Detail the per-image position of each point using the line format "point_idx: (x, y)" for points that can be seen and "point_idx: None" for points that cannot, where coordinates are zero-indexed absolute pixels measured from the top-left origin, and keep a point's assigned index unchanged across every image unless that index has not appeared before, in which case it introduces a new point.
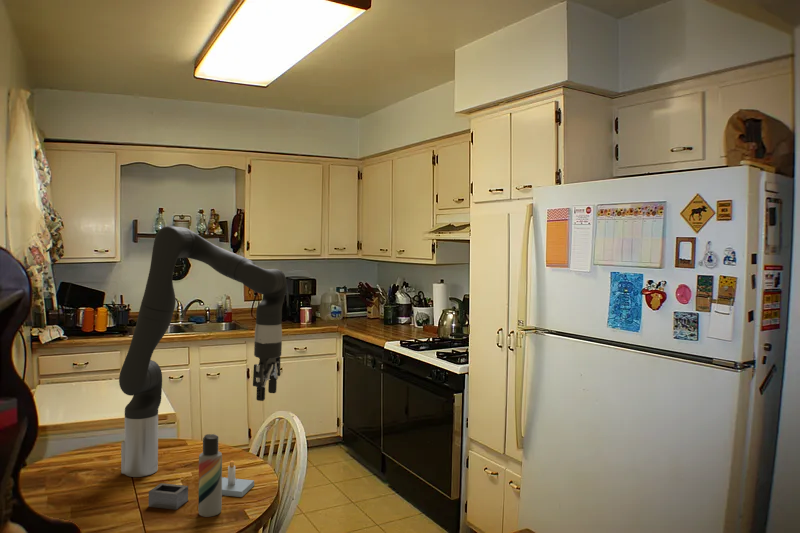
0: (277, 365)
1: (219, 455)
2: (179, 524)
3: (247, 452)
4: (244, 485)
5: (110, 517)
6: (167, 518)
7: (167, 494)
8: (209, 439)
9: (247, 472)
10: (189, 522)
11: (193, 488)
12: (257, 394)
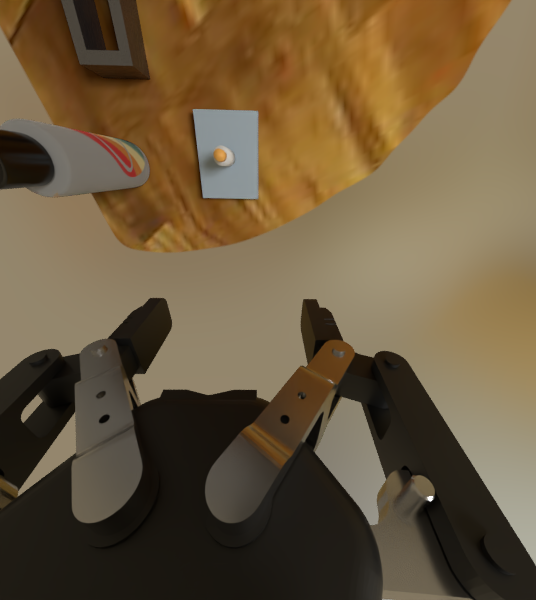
0: (389, 473)
1: (45, 194)
2: None
3: (457, 84)
4: (230, 189)
5: None
6: (65, 81)
7: (71, 29)
8: None
9: (320, 151)
10: None
11: (209, 49)
12: (125, 322)
